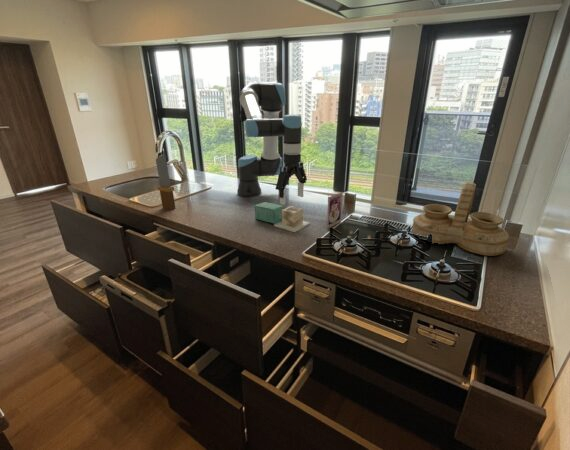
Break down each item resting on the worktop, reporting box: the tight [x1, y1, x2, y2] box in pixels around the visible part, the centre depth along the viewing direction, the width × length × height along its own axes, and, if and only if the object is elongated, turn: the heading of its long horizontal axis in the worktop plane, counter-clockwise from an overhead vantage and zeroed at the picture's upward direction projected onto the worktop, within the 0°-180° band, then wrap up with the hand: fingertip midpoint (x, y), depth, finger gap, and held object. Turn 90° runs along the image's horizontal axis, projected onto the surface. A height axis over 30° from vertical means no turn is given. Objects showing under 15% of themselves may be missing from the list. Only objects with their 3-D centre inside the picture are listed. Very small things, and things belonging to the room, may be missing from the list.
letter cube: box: [282, 205, 304, 227], centre depth 138 cm, size 7×7×7 cm
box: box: [254, 201, 285, 225], centre depth 144 cm, size 7×14×8 cm, turn 50°
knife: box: [155, 153, 176, 211], centre depth 158 cm, size 8×4×30 cm, turn 62°
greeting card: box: [326, 190, 344, 229], centre depth 139 cm, size 11×7×15 cm, turn 137°
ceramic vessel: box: [411, 181, 510, 257], centre depth 117 cm, size 34×18×25 cm, turn 54°
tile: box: [273, 220, 311, 233], centre depth 140 cm, size 12×12×1 cm
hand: (291, 200), depth 136 cm, fingers open, 13 cm apart
